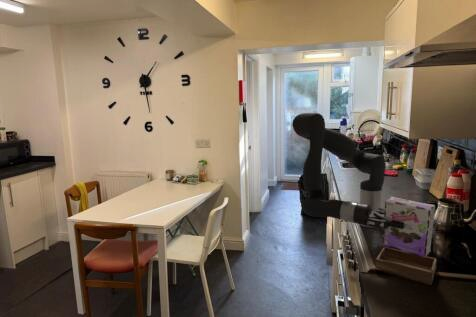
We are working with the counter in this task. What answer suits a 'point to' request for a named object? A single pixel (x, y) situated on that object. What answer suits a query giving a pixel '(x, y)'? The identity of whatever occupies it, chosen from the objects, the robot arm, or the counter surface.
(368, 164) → the robot arm
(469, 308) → the counter surface
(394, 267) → the crate
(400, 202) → the candy box
